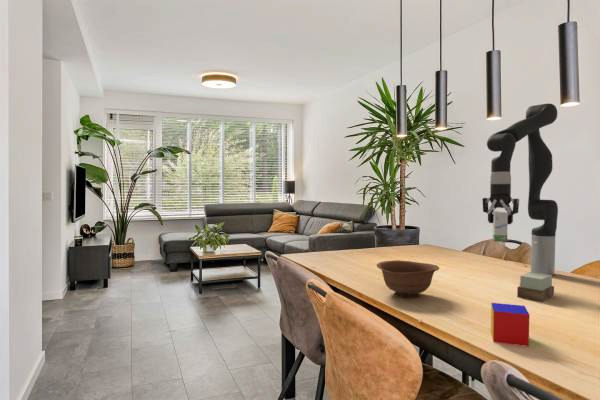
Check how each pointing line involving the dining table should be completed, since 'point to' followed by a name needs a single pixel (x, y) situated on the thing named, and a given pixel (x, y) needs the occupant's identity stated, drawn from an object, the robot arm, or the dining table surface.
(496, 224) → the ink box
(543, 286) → the sage block
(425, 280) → the bowl
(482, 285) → the dining table surface
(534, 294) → the walnut slab
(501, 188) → the robot arm
